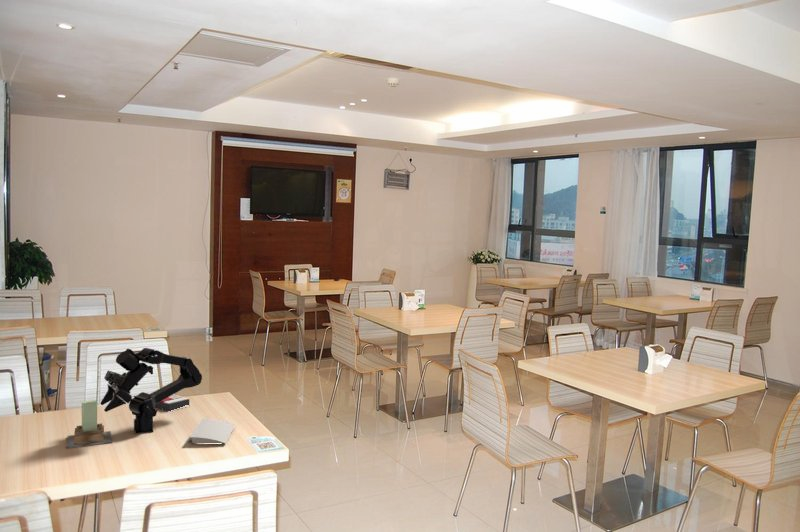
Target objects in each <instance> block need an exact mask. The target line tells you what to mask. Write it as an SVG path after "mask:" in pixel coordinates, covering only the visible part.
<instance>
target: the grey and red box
mask: <svg viewBox="0 0 800 532" xmlns="http://www.w3.org/2000/svg"><path fill="white" fill-rule="evenodd" d="M185 405H189V406H190V398H187V397H183V396H182V395H179V394H176V393H175V394H173V395H171V396H169V397H168V398H166V399H164V400H162V401H160V402H159V403H157V404H156V405H155V407H154V408H157V407H158V408H157V409H161V410H162V409H163V410H162V411H165V410H166V411H165V412H167V411H170V412H172V411H171V410H174V409H177V408H180V407H183V406H185ZM177 410H178V409H177ZM174 411H175V410H174Z"/></svg>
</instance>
